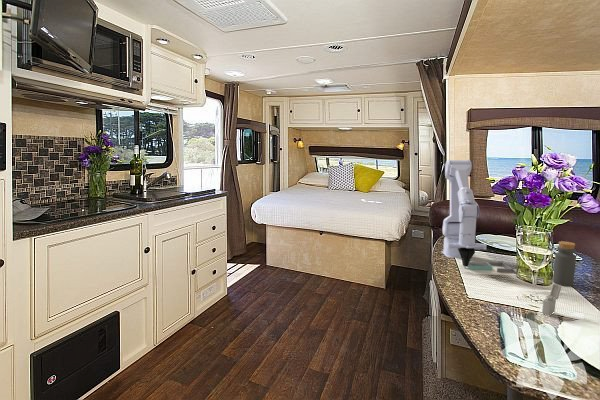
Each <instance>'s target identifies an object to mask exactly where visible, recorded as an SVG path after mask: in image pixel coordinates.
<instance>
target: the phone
mask: <svg viewBox="0 0 600 400" xmlns="http://www.w3.org/2000/svg"><path fill="white" fill-rule="evenodd" d="M468 268H469V269H470V270H487V271H492V266H491V265H490V264H489V263H488V262H487V261H486V262H485V261H470V262H469V264H468Z"/></svg>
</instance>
